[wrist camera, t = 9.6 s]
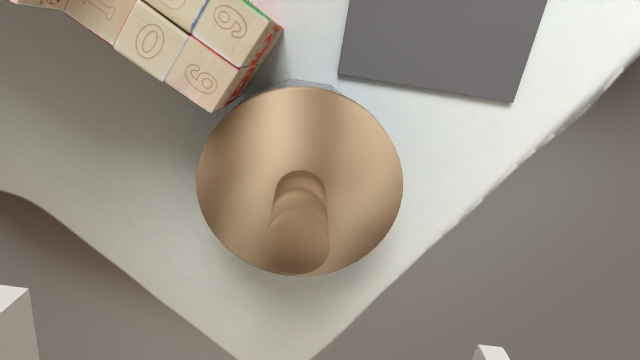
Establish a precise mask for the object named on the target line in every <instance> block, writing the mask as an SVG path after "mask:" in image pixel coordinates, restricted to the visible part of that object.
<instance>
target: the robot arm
mask: <svg viewBox="0 0 640 360" xmlns="http://www.w3.org/2000/svg"><path fill="white" fill-rule="evenodd" d="M0 360H39V355H38V348H37V341H36V334H35V327H34V320H33V314H32V307H31V300H30V293H29V289H28V288H20V287H12V286H4V285H0ZM472 360H510V359H509V358H508V356H507V354H506V352H505V351H504V349H503V348H502V347H495V346H487V345H478V346H477V349H476V351H475V354H474V356H473V359H472Z"/></svg>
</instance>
